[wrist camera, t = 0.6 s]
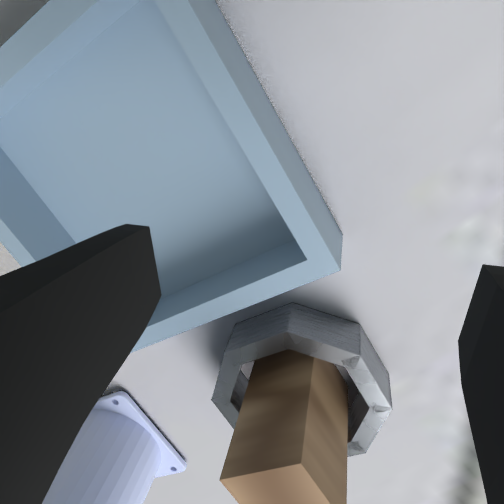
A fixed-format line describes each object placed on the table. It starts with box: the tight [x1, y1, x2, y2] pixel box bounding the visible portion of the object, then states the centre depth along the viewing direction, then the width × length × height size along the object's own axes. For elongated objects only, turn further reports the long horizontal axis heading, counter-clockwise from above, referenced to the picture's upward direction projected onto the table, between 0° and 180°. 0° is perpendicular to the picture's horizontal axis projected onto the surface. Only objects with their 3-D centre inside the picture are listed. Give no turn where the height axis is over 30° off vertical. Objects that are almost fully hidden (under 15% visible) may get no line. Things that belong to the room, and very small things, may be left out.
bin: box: [0, 0, 343, 353], centre depth 20 cm, size 14×14×4 cm
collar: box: [211, 303, 392, 457], centre depth 24 cm, size 9×9×2 cm
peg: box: [220, 349, 348, 504], centre depth 22 cm, size 4×4×8 cm
